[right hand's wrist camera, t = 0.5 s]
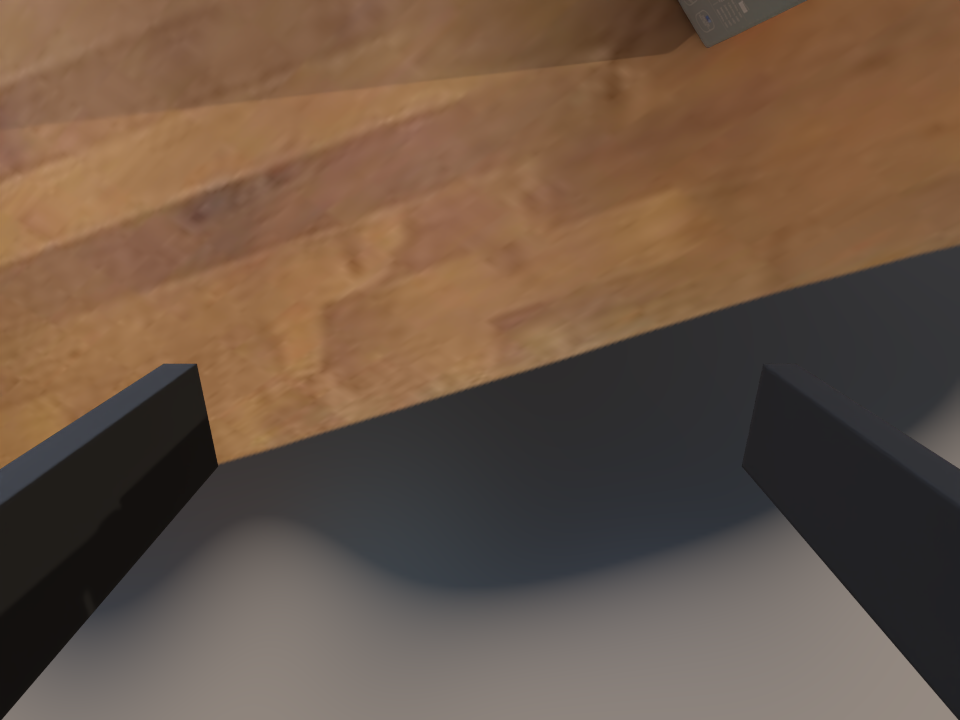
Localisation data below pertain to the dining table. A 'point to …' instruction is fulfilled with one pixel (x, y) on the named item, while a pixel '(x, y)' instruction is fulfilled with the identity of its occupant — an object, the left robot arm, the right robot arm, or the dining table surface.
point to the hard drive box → (730, 16)
